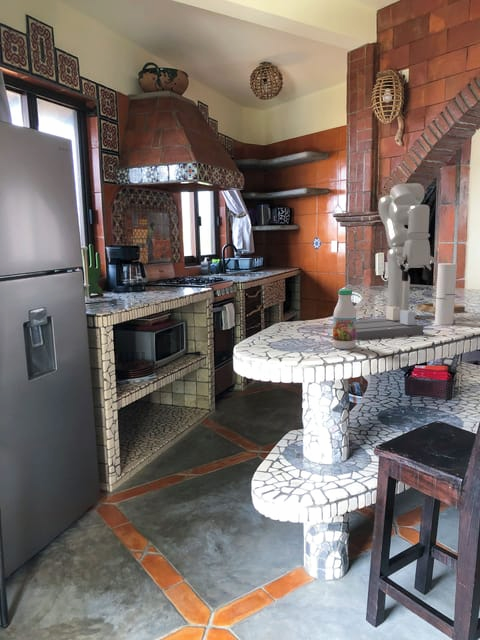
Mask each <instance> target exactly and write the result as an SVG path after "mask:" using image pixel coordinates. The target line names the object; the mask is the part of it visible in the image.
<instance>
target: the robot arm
mask: <svg viewBox="0 0 480 640" xmlns="http://www.w3.org/2000/svg"><path fill="white" fill-rule="evenodd" d="M424 198H425V187H424V186H423V185H422V184H421V183H419V182H418V183H417V182H416V183H415V182H413V183H398V184H395V185H394V186H393V187H392V188H391V189H390V193H389V194H387V195H384V196H382V197H380V198H379V200H378V207H377V209H378V215H379V217H380V220H381V222H382V223H383V226H384V228H385V234H386V241H387V244H388V247H389V250H388V251H387V253H386V262H387V276H388V277H387V301H386V303H387V304H386V305H385V306H384V309H386V306H395V307H399V308H400V310H404V309H405V310H410V290H411V289H410V287H411V285H410V283H411V277H410V275H409V271H408V270H409V269H411V268H412V269H413V268H414V269H415V268H423V269H422V280H425V281H430V274H431V273H430V272H431V270H432V269H433V267H434V266H435V263H436V261H437V258H436V257H433V256H432V255H431V245H430V241H429V238H430V237H431V234H430V233H429V228H430V227H429V226H430V212H431V211H430V210H431V209H430V206H429V205H428V204H422V202H423V201H424ZM405 225H407V227H408V228H406V227H405ZM382 315H383V316H384V317H386V311H384V312H383V314H382ZM399 319H400V316H399Z"/></svg>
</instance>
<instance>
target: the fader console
mask: <svg viewBox="0 0 480 640" xmlns="http://www.w3.org/2000/svg"><path fill="white" fill-rule="evenodd" d="M418 334H419V335H423V334H424V326H422V325H419V324H417V323H414V325H405V324H402V323H400V318H399V320H394V321H393V320H389V319H386V318H377V319H362V320H361V319H360V320H356V341H358V339H361V340H371V338H372V339H380V338H381V339H382V337H384V338H394V337H404V335H407V336H416V335H418ZM419 335H418V336H419Z"/></svg>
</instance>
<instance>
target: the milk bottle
mask: <svg viewBox="0 0 480 640" xmlns="http://www.w3.org/2000/svg"><path fill="white" fill-rule="evenodd" d="M352 297H353V290H352V289H350V288H341V289H338V300H337V303H336V306H335V308H334V311H333V316H332V317H333V319H332V320H333V321H332V346H333V348H335V349H340V350H351V349H354V348H355V347H356V346H357V345H356V343H357V340H356V321H357V312H356V308H355V306H354V304H353V300H352Z"/></svg>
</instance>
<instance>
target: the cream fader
mask: <svg viewBox="0 0 480 640" xmlns="http://www.w3.org/2000/svg"><path fill="white" fill-rule="evenodd" d="M385 306H386V308H385V312H386V316H385V319H389V320H393V321H394V320H399V319H400V318H399V316H400V308H399V307H395V306H387V305H385Z"/></svg>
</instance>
